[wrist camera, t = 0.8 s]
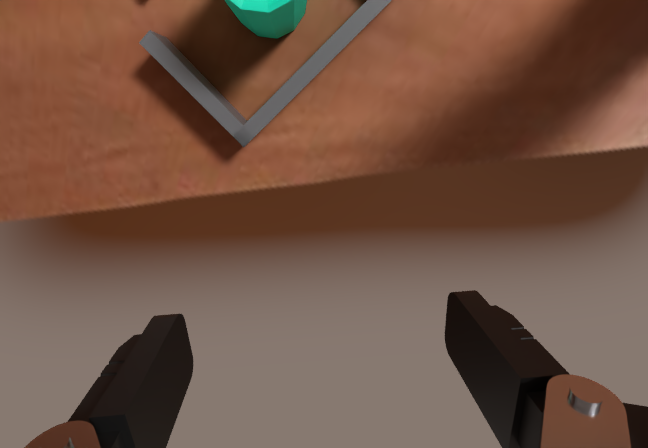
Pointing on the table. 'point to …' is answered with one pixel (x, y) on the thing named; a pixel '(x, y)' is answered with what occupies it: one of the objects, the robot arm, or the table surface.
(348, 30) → the bay
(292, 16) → the candle
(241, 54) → the table surface
